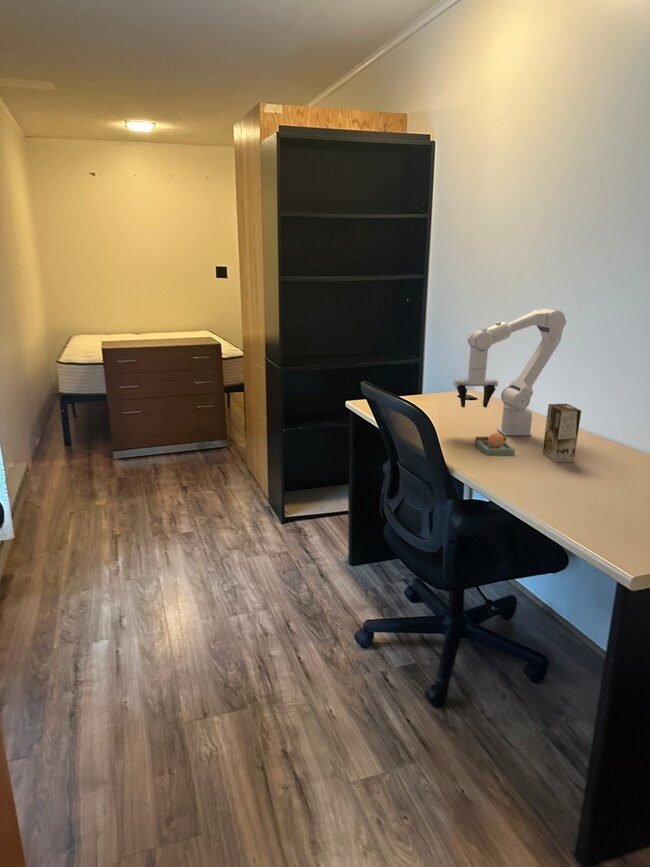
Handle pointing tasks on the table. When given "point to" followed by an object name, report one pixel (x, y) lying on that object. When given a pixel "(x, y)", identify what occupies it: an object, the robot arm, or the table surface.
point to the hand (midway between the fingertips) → (473, 406)
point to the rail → (484, 439)
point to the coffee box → (561, 432)
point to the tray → (488, 450)
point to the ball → (495, 440)
